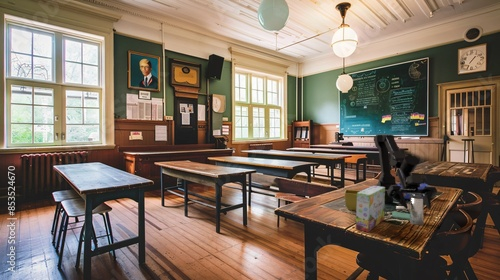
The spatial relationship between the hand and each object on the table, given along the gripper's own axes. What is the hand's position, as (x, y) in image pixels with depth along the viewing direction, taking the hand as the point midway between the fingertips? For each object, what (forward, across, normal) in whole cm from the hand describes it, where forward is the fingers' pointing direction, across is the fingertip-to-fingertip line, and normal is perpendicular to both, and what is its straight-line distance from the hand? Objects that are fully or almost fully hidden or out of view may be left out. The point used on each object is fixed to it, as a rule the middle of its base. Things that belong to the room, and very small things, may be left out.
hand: (418, 208), depth 104 cm
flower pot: (-8, -21, +18) cm, 29 cm away
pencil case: (-28, +19, +38) cm, 51 cm away
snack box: (+7, -20, +3) cm, 21 cm away
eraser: (-13, +9, +23) cm, 28 cm away
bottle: (+4, 0, +6) cm, 7 cm away
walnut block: (-7, +7, +17) cm, 20 cm away
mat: (-2, -2, +12) cm, 12 cm away
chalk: (-11, +4, +21) cm, 24 cm away
